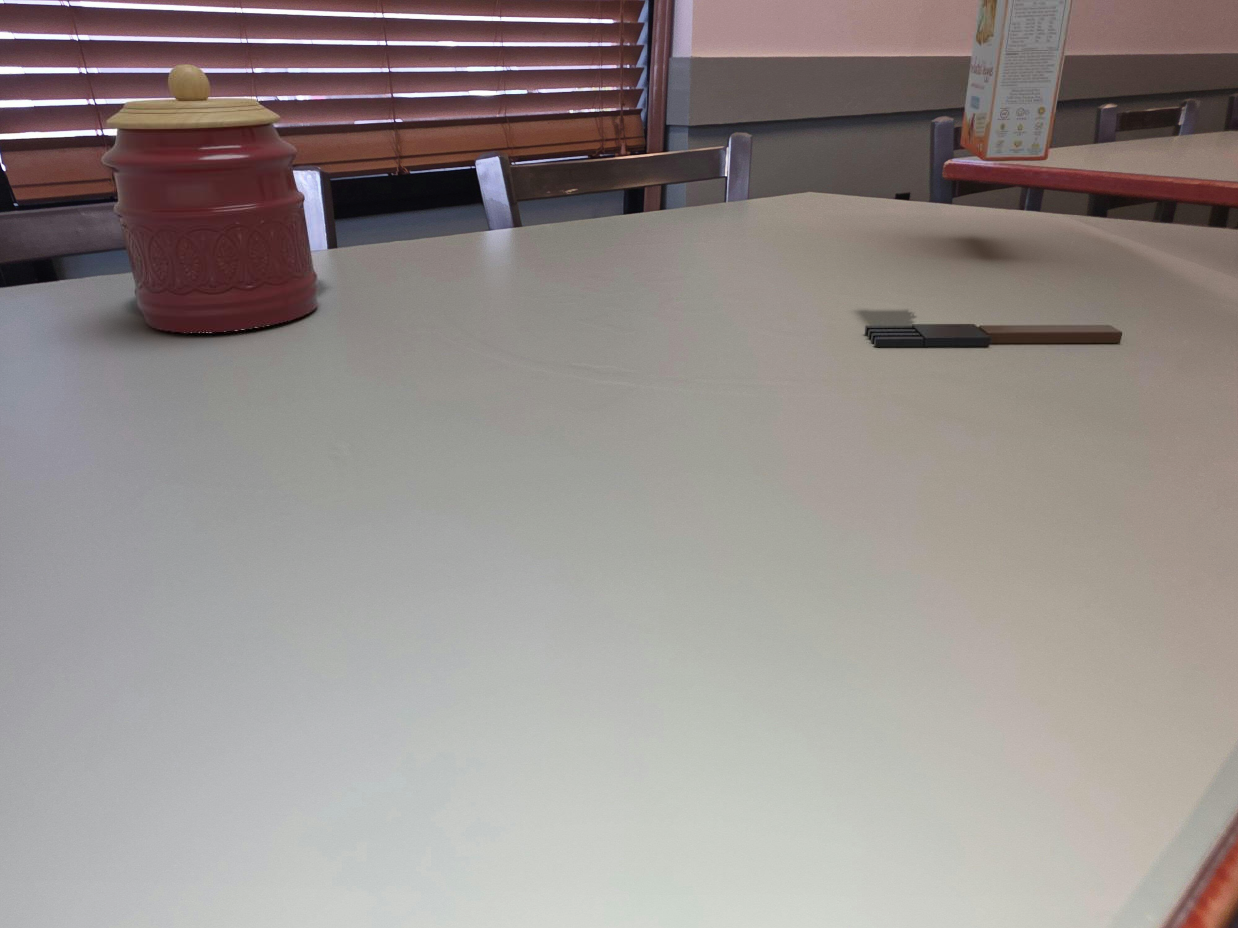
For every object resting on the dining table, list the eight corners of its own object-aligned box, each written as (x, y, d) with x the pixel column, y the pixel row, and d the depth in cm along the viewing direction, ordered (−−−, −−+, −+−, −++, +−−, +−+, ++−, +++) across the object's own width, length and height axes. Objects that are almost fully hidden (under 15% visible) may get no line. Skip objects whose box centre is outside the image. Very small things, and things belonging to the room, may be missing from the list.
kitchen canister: (263, 342, 61) (210, 64, 53) (101, 333, 63) (30, 66, 56) (351, 296, 72) (318, 63, 65) (212, 290, 75) (164, 64, 67)
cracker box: (955, 148, 91) (987, -87, 82) (1016, 148, 90) (1055, -90, 81) (977, 162, 78) (1017, -113, 69) (1048, 162, 77) (1099, -118, 68)
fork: (1102, 333, 61) (1105, 321, 60) (1125, 346, 58) (1128, 335, 57) (864, 333, 61) (865, 322, 61) (875, 347, 58) (876, 335, 58)
